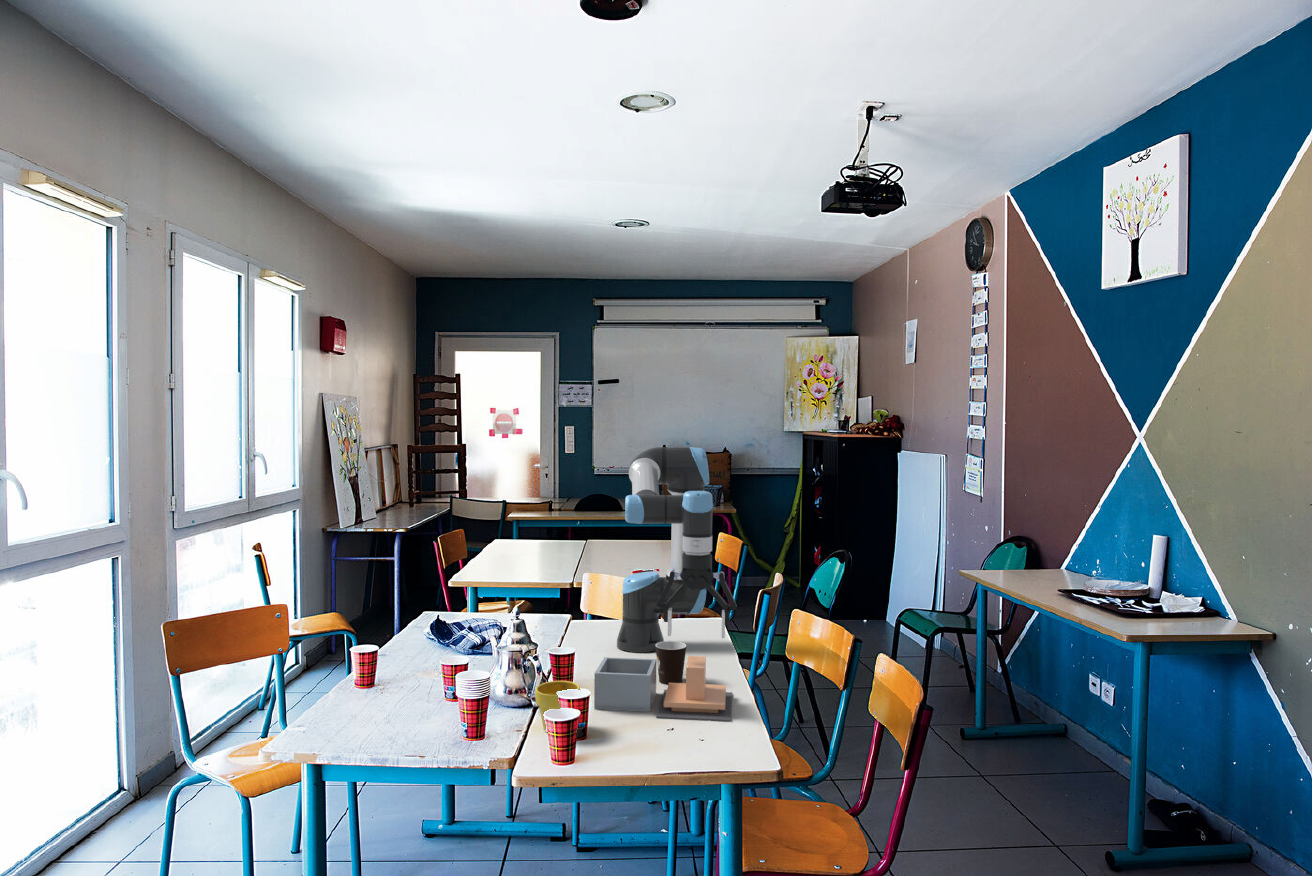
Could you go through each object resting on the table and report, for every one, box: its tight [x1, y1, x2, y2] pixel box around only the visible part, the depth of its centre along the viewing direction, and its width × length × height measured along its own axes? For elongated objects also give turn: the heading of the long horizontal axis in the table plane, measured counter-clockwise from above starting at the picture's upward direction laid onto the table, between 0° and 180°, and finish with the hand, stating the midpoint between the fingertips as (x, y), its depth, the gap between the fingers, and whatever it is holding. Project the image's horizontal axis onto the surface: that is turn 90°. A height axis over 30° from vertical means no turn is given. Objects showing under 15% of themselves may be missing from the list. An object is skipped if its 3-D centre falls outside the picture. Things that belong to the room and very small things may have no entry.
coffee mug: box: [655, 640, 687, 686], centre depth 224 cm, size 12×9×10 cm
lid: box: [664, 655, 727, 713], centre depth 203 cm, size 15×15×11 cm
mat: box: [655, 689, 733, 722], centre depth 204 cm, size 20×18×1 cm
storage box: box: [593, 656, 657, 713], centre depth 206 cm, size 14×14×9 cm
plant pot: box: [535, 680, 581, 730], centre depth 187 cm, size 10×10×10 cm
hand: (696, 635), depth 204 cm, fingers open, 13 cm apart
